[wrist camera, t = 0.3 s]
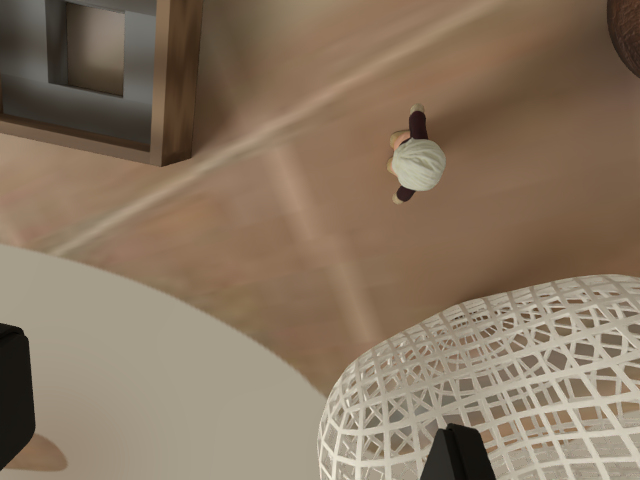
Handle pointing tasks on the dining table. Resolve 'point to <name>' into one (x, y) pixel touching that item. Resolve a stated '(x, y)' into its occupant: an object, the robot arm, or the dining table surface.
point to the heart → (357, 369)
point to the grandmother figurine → (415, 158)
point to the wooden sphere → (625, 31)
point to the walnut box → (95, 106)
